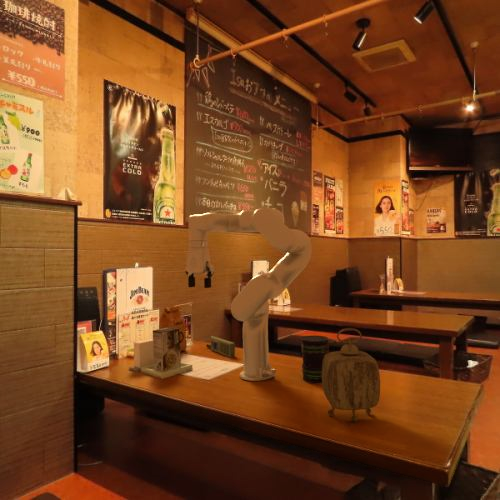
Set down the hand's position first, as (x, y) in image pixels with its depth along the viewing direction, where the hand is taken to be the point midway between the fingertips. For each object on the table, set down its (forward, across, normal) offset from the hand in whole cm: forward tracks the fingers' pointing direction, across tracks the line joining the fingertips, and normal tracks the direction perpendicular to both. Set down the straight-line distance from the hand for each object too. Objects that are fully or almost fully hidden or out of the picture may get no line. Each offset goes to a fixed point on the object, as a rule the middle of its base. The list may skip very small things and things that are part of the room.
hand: (199, 287), depth 167 cm
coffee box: (+33, -10, -10) cm, 36 cm away
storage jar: (+34, +44, +16) cm, 58 cm away
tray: (+33, -10, -10) cm, 36 cm away
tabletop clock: (+34, +71, -8) cm, 79 cm away
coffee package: (+34, -34, +12) cm, 49 cm away
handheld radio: (+34, -15, +25) cm, 45 cm away
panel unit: (+33, -22, -8) cm, 41 cm away
